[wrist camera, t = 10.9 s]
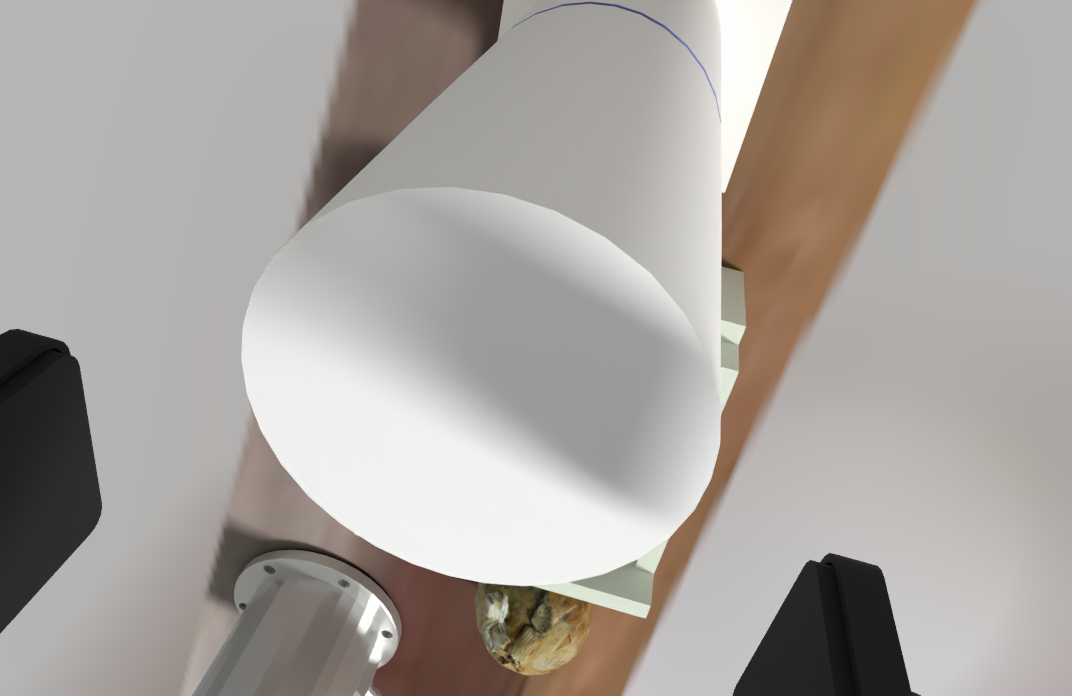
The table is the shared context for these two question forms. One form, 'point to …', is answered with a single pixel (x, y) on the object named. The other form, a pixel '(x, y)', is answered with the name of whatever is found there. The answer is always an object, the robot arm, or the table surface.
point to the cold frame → (635, 579)
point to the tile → (723, 62)
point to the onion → (531, 626)
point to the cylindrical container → (516, 307)
